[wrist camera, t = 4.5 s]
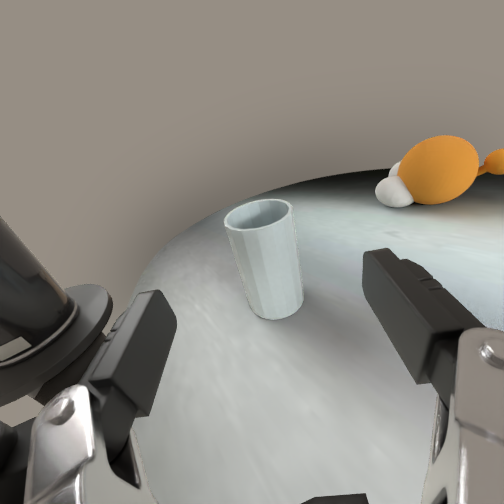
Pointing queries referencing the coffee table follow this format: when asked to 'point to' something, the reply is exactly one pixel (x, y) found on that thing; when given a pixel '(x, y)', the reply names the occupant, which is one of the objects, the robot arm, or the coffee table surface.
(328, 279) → the coffee table surface
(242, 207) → the plastic cup
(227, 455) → the coffee table surface
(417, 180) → the toy
